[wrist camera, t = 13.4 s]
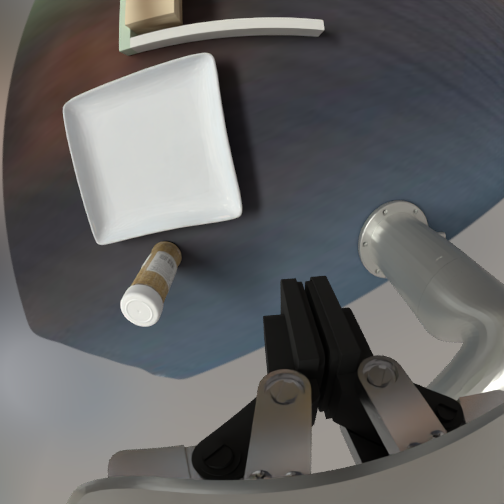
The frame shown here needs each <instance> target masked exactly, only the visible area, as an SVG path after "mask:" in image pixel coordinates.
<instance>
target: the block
mask: <svg viewBox="0 0 504 504" xmlns="http://www.w3.org/2000/svg"><path fill="white" fill-rule="evenodd" d="M181 25H183V21H182V0H126V7H125V26H127V27H128V28H129V29H131V30H132V31H134V32H135V33H136V34H138V35H142V34H145V33H149V32H153V31H157V30H162V29H166V28H171V27H176V26H181Z"/></svg>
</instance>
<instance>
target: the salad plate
mask: <svg viewBox="0 0 504 504" xmlns="http://www.w3.org/2000/svg"><path fill="white" fill-rule="evenodd" d="M63 117H64V123H65V129H66V134H67V139H68V143H69V148H70V152H71V157H72V161H73V165H74V169H75V173H76V177H77V181H78V185H79V189H80V192H81V196H82V199H83V203H84V206H85V210H86V213H87V216H88V220H89V223H90V226H91V229H92V232H93V235H94V237H95V240H96V242H97V243H98V244H100V245H105V244H110V243H115V242H119V241H123V240H127V239H131V238H135V237H139V236H143V235H148V234H152V233H157V232H161V231H166V230H171V229H176V228H181V227H188V226H195V225H202V224H209V223H215V222H221V221H226V220H231V219H235V218H238V217H240V216H241V214H242V201H241V195H240V189H239V185H238V181H237V176H236V172H235V168H234V163H233V159H232V155H231V150H230V145H229V141H228V136H227V130H226V125H225V119H224V113H223V107H222V101H221V94H220V87H219V80H218V73H217V68H216V63H215V60H214V57H213V56H212V55H211V54H209V53H199V54H194V55H189V56H185V57H182V58H178V59H175V60H171V61H168V62H165V63H162V64H159V65H156V66H153V67H150V68H147V69H144V70H141V71H138V72H135V73H133V74H130V75H127V76H125V77H122V78H119V79H117V80H114V81H112V82H109V83H106V84H104V85H101V86H99V87H97V88H94V89H92V90H89V91H87V92H85V93H83V94H80V95H78V96H76V97H74V98H72V99H71V100H69V101H68V102H67V103H66V104H65V105H64V107H63Z"/></svg>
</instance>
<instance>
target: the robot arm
mask: <svg viewBox="0 0 504 504" xmlns="http://www.w3.org/2000/svg"><path fill="white" fill-rule="evenodd" d="M383 210H384V211H383ZM445 238H446V235H445V233H444V232H436V231H434V230H433V229H431V228H430V227H429V226H428V223H427V219H426V217H425V215H424V213H423V212H422V211H421V210H420V209H419V208H418V207H417V206H415V205H414V204H412V203H410V202H407V201H403V200H395V201H391V202H388V203H385V204H383V205H381V206H380V207H378V208H377V209H376V210H375V211H374V212H373V213H372V214H371V215H370V216H369V217H368V219H367V220H366V221H365V223H364V225H363V227H362V229H361V232H360V235H359V241H358V252H359V256H360V259H361V261H362V263H363V265H364V266H365V267H366V269H367V270H368V271H369V272H370V273H372V274H373V275H375V276H378V277H381V278H387V279H388V280H389V281H390V282H391V284H392V285H393V286H394V288H395V289H396V290H397V292H398V293H399V294H400V295H401V297H402V298H403V299H404V301H405V302H406V303H407V305H408V306H409V307H410V309H411V310H412V312H413V313H414V314H415V315H416V317H417V318H418V320H419V321H420V322H421V324H422V325H423V327H424V328H425V329H426V331H427V332H428V333H429V334H430V335H432V336H433V337H435V338H436V339H438V340H441V341H446V342H454V343H457V342H458V343H463V345H462V347H461V349H460V350H459V351H458V353H457V354H456V355H455V356H454V358H453V359H452V361H451V362H450V363H449V364H448V365H447V366H446V367H445V368H444V370H443V371H442V372H441V373H440V374H439V375H438V376H437V377H436V378H435V379H434V380H433V381H432V382H431V383H430V384H429V385H428V386H427V387H426V388H425V387H422V386H420V385H417V384H415V383H413V382H412V381H411V379H410V378H409V377H408V375H407V374H406V373H405V371H404V370H403V368H402V367H401V365H399V364H398V363H397V361H395V360H394V359H392V358H389V357H386V356H373V354H372V352H371V350H370V348H369V345H368V343H367V341H366V339H365V337H364V335H363V333H362V331H361V329H360V327H359V325H358V323H357V321H356V319H355V317H354V315H353V313H352V311H351V309H350V308H341V306H340V304H339V302H338V300H337V298H336V296H335V294H334V292H333V290H332V287H331V285H330V283H329V281H328V279H327V277H326V276H317V277H311V278H310V281H306V282H305V290H304V287H303V284H302V282H297V280H296V278H294V279H281V315H270V316H263V323H264V340H265V353H266V363H267V375H266V376H264V377H263V379H262V380H261V381H260V383H259V386H258V391H257V397H256V398H255V399H254V400H252V401H251V402H250V403H249V404H248V405H247V406H245V407H244V408H243V409H242V410H241V411H239V412H238V413H237V414H236V415H234V416H233V417H232V418H231V419H230V420H228V421H227V422H226V423H224V424H223V425H222V426H221V427H219V428H218V429H217V430H216V431H214V432H213V433H212V434H210V435H209V436H208V437H206V438H205V439H204V440H202V441H201V442H200V443H199V444H198V445H197V446H190V447H184V445H179V446H171V447H163V448H162V447H161V448H150V449H134V450H123V451H119V452H117V453H115V454H114V455H113V456H112V457H111V459H110V460H109V464H108V478H103V479H97V480H93V481H90V482H87V483H84V484H82V485H80V486H79V487H78V488H77V489H76V490H75V491H74V492H73V493H72V495H71V496H70V498H69V499H68V502H67V504H504V284H503V283H501V282H500V281H499V280H497V279H496V278H495V277H494V276H492V275H491V274H490V273H489V272H487V271H486V270H484V268H482V267H481V266H480V265H479V264H477V263H476V262H475V261H474V260H472V259H471V258H470V257H468V256H467V255H466V254H465V253H464V252H462V251H461V250H460V249H459V248H457V247H456V246H455V245H453V244H452V243H451V242H449V241H448V240H447V239H445ZM317 409H319V411H320V412H322V411H324V413H325V417H326V419H329V418H332V419H333V421H334V422H336V423H337V424H339V425H340V430H341V433H342V435H343V437H344V439H345V441H346V444H347V446H348V448H349V450H350V453H351V455H352V457H353V459H354V461H355V463H356V465H354V466H350V467H346V468H341V469H336V470H331V471H326V472H320V473H314V474H311V447H312V426H313V425H314V422H315V418H316V413H317Z"/></svg>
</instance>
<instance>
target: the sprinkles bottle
mask: <svg viewBox="0 0 504 504" xmlns="http://www.w3.org/2000/svg"><path fill="white" fill-rule="evenodd" d="M180 262H181V252H180V250H179V248H178V247H177V246H176V245H174V244H173V243H171V242H166V241H165V242H159V243H157V244H156V245H155V246H154V248H153V249H152V252H151V254H150V255H149V256H148V258H147V259H146V261H145V262H144V264H143V266H142V267H141V270H140V272H139V273H138V275H137V277H136V278H135V280H134V282H133V284H132V285H131V287H129V288H128V289H127V291H126V292H125V294H124V296H123V298H122V300H121V310H122V313H123V314H124V316H125V317H126V318H127V319H128V320H129V321H130V322H132V323H134V324H136V325H139V326H151V325H153V324H155V323H156V322H157V321H158V320H159V317H160V315H161V312H162V310H163V303H164V300H165V298H166V295H167V294H168V291H169V289H170V286H171V284H172V281H173V279H174V276H175V274H176V271H177V267H178V266H179V264H180Z"/></svg>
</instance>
